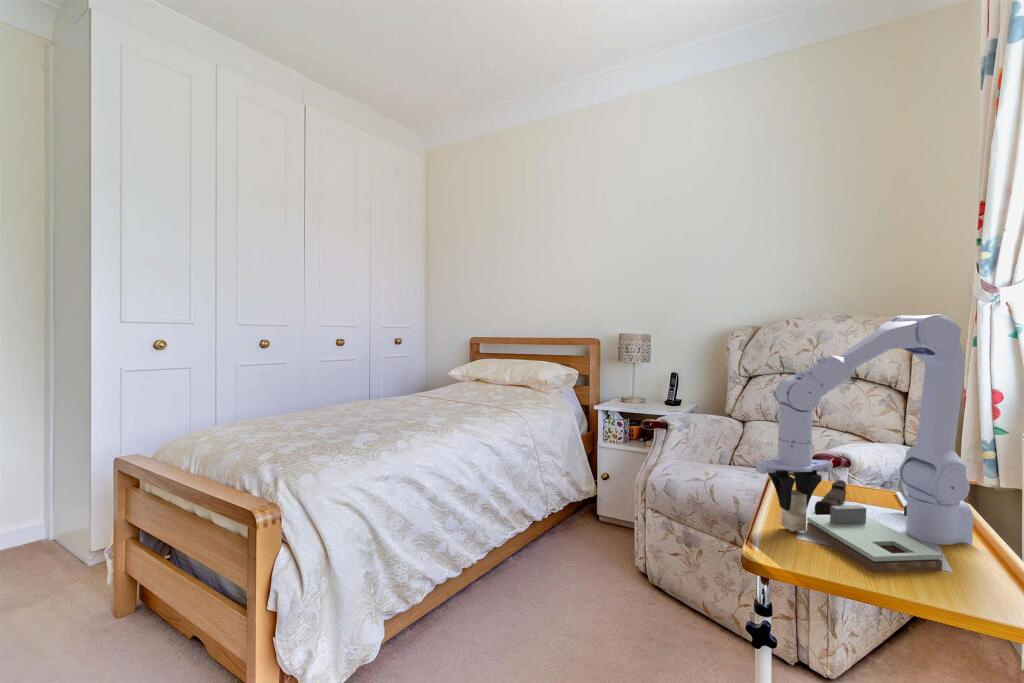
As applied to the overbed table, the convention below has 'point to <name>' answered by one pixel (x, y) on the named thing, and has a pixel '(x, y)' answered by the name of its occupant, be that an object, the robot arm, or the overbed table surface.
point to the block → (795, 512)
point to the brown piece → (877, 565)
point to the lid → (870, 535)
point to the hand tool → (831, 498)
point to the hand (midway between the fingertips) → (793, 508)
